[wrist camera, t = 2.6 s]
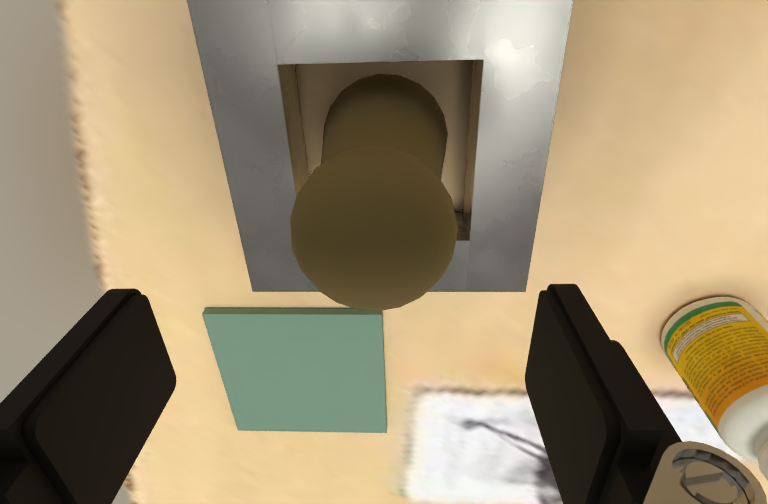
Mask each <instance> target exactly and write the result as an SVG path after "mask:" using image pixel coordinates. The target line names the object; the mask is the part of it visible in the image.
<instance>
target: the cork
mask: <svg viewBox="0 0 768 504" xmlns="http://www.w3.org/2000/svg"><path fill="white" fill-rule="evenodd" d="M446 142H447V129H446V123H445V118H444V114H443V112H442V111H441V109H440V107H439V105H438V103H437V102H436V100H435V98H434V97H433V96H432V95H431V94H430V93H429V92H428V91H426V90H425V89H424V88H423V87H422V86H421V85H420V84H418V83H416V82H414V81H411V80H409V79H407V78H404V77H402V76H398V75H384V74H378V75H374V76H370V77H366V78H363V79H359V80H357V81H356V82H355V83H353V84H352V85H350V86H349V87H347V88H346V89H344V90H343V91H342V92H341V93H340V94H339V96H338V97H337V99H336V100H335V101H334V103H333V104H332V105H331V107H330V109H329V112H328V116H327V119H326V122H325V125H324V135H323V147H322V159H321V165H320V166H318V167H317V168H316V169H315V170H314V172H313V173H312V174H311V175H310V177H309V178H308V179H307V180H306V182H305V183H304V184H303V185H302V187H301V189H300V190H299V192H298V194H297V197H296V200H295V203H294V206H293V210H292V213H291V216H290V227H291V245H292V251H293V253H294V255H295V258H296V260H297V262H298V265H299V267H300V269H301V271H302V272H303V273H304V274H305V275H306V276H307V278H308V279H309V280H310V281H311V282H312V283H313V285H314V286H315V287H316V288H317V289H318V290H319V291H320V292H321V293H323V294H325V295H326V296H328V297H329V298H331V299H332V300H334V301H335V302H337V303H340V304H343V305H346V306H349V307H352V308H355V309H360V310H374V311H381V310H386V309H392V308H398V307H401V306H403V305H405V304H408V303H410V302H412V301H414V300H416V299H418V298H420V297H421V296H423V295H424V294H425V293H426V292H427V291H429V290H430V289H431V288H432V287H433V286H434V285H435V284H436V283H437V282H439V281H440V280H441V278H442V276H443V275H444V273H445V271H446V269H447V268H448V266H449V264H450V262H451V260H452V257H453V254H454V249H455V243H456V237H457V231H458V228H457V223H456V218H455V213H454V208H453V203H452V199H451V196H450V195H449V193H448V192H447V190H446V188H445V187H444V185H443V183H442V182H441V174H442V168H443V162H444V156H445V149H446Z"/></svg>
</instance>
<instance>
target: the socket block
mask: <svg viewBox="0 0 768 504" xmlns="http://www.w3.org/2000/svg"><path fill="white" fill-rule="evenodd" d="M187 3H188V7H189V12H190V16H191V21H192V25H193V29H194V34H195V38H196V43H197V47H198V52H199V56H200V60H201V65H202V69H203V74H204V78H205V83H206V87H207V91H208V96H209V100H210V105H211V109H212V114H213V118H214V122H215V127H216V131H217V136H218V140H219V145H220V149H221V153H222V158H223V162H224V167H225V171H226V176H227V180H228V184H229V189H230V193H231V198H232V202H233V207H234V211H235V215H236V220H237V224H238V229H239V233H240V238H241V242H242V246H243V251H244V255H245V260H246V264H247V268H248V273H249V277H250V282H251V286H252V291H253V292H320V291H319V290H318V289H317V288H316V287H315V286H314V285H313V283H312V282H311V281H310V280H309V279H308V278H307V276H306V275H305V274H304V273H303V272H302V271H301V269H300V267H299V265H298V262H297V260H296V258H295V255H294V253H293V251H292V245H291V227H290V216H291V213H292V210H293V206H294V203H295V200H296V197H297V194H298V192H299V190H300V189H301V187H302V185H303V184H304V183H305V182H306V180H307V179H308V178H309V175H308V167H307V159H306V151H305V143H304V135H303V127H302V119H301V111H300V103H299V95H298V87H297V79H296V71H295V64H319V63H357V62H396V61H435V60H473V69H472V84H471V99H470V114H469V129H468V144H467V159H466V173H465V188H464V203H463V212H454V213H455V218H456V223H457V228H458V231H457V237H456V243H455V249H454V254H453V257H452V260H451V262H450V264H449V266H448V268H447V269H446V271H445V273H444V275H443V276H442V278H441V280H440V281H439V282H437V283H436V284H435V285H434V286H433V287H432V288H431V289H430V290H429V291H427V292H526V285H527V279H528V273H529V267H530V261H531V255H532V249H533V243H534V237H535V231H536V225H537V219H538V212H539V206H540V200H541V194H542V188H543V182H544V176H545V170H546V164H547V158H548V152H549V145H550V139H551V133H552V127H553V121H554V115H555V109H556V103H557V97H558V91H559V85H560V79H561V72H562V66H563V60H564V54H565V48H566V42H567V36H568V30H569V24H570V18H571V12H572V5H573V0H187Z"/></svg>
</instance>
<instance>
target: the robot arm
mask: <svg viewBox="0 0 768 504" xmlns="http://www.w3.org/2000/svg"><path fill="white" fill-rule="evenodd" d="M525 384H526V389H527V393H528V396H529V399H530V402H531V405H532V408H533V411H534V414H535V417H536V421H537V424H538V427H539V430H540V433H541V436H542V439H543V442H544V445H545V449H546V452H547V455H548V458H549V461H550V464H551V467H552V470H553V473H554V476H555V480H556V483H557V486H558V489H559V492H560V495H561V498H562V501H563V504H767V501H766V495H765V493H764V491H763V488H762V486H761V484H760V482H759V481H758V480H757V479H756V478H755V476H754V475H753V474H752V473H751V471H750V470H749V469H748V468H746V467H745V466H744V465H743V464H742V463H740V462H739V461H738V460H737V459H736V458H734V457H732V456H730V455H729V454H727V453H725V452H724V451H722V450H720V449H717V448H715V447H712V446H710V445H707V444H703V443H698V442H692V441H687V442H682V441H681V439H680V437H679V436H678V434H677V433H676V431H675V429H674V428H673V426H672V425H671V423H670V422H669V420H668V418H667V417H666V415H665V414H664V412H663V410H662V409H661V407H660V406H659V404H658V402H657V401H656V399H655V398H654V396H653V394H652V393H651V391H650V390H649V388H648V386H647V385H646V383H645V382H644V380H643V378H642V377H641V375H640V374H639V372H638V370H637V369H636V367H635V366H634V364H633V362H632V361H631V359H630V358H629V356H628V355H627V353H626V351H625V350H624V348H623V347H622V346H621V344H620V343H619V342H617V341H615V340H610V339H609V337H608V335H607V334H606V332H605V330H604V329H603V327H602V325H601V324H600V322H599V321H598V319H597V317H596V316H595V314H594V312H593V311H592V309H591V307H590V306H589V304H588V302H587V301H586V299H585V297H584V296H583V294H582V292H581V291H580V289H579V287H578V286H577V285H576V284H550V285H549V286H548V288H547V290H542V291H541V292H540V294H539V298H538V304H537V309H536V315H535V321H534V327H533V332H532V338H531V344H530V350H529V355H528V361H527V367H526V372H525ZM175 386H176V375H175V372H174V369H173V366H172V364H171V361H170V358H169V355H168V353H167V350H166V347H165V344H164V341H163V339H162V336H161V333H160V330H159V328H158V325H157V322H156V319H155V316H154V314H153V311H152V308H151V305H150V303H149V300H148V298H147V297H146V296H145V295H142V294H141V292H140V291H139V290H137V289H111V290H108V291H107V292H106V293H105V294H104V295H103V296H102V297H101V298H100V299H99V300H98V301H97V303H95V304H94V305H93V307H92V308H91V309H90V310H89V311H88V312H87V313H86V314H85V315H84V316H83V317H82V318H81V319H80V320H79V321H78V322H77V324H75V325H74V327H73V328H72V329H71V330H70V331H69V332H68V333H67V334H66V335H65V336H64V337H63V338H62V339H61V340H60V341H59V342H58V344H56V345H55V346H54V348H53V349H52V350H51V351H50V352H49V353H48V354H47V355H46V356H45V357H44V358H43V359H42V360H41V361H40V362H39V363H38V364H37V366H35V368H34V369H33V370H32V371H31V372H30V373H29V374H28V375H27V376H26V377H25V378H24V379H23V380H22V381H21V382H20V383H19V384H18V385H17V387H15V389H14V390H13V391H12V392H11V393H10V394H9V395H8V396H7V397H6V398H5V399H4V400H3V401H2V402H1V403H0V504H111V503H112V502H113V500H114V498H115V496H116V495H117V493H118V491H119V489H120V487H121V486H122V484H123V482H124V480H125V478H126V477H127V475H128V473H129V471H130V469H131V467H132V466H133V464H134V462H135V460H136V458H137V457H138V455H139V453H140V451H141V449H142V448H143V446H144V444H145V442H146V440H147V438H148V437H149V435H150V433H151V431H152V429H153V428H154V426H155V424H156V422H157V420H158V419H159V417H160V415H161V413H162V411H163V409H164V408H165V406H166V404H167V402H168V400H169V399H170V397H171V395H172V393H173V391H174V389H175Z"/></svg>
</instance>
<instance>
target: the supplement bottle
mask: <svg viewBox="0 0 768 504" xmlns="http://www.w3.org/2000/svg"><path fill="white" fill-rule="evenodd" d="M661 344H662V348H663V350H664V352H665V354H666V356H667V357H668V359H669V360H670V362H671V363H672V365H673V367H674V368H675V370H676V371H677V372H678V374H679V375H680V377H681V378H682V380H683V381H684V383H685V384H686V386H687V388H688V389H689V391H690V392H691V393H692V395H693V396H694V398H695V399H696V401H697V402H698V404H699V405H700V407H701V408H702V410H703V411H704V413H705V414H706V416H707V417H708V419H709V420H710V422H711V424H712V425H713V427H714V428H715V430H716V431H717V432H718V434H719V436H720V437H721V439H722V440H723V441H724V443H725V444H726V445H727V446H728V447H729V448H730V449H731V450H732V451H734V452H735V453H736V454H738V455H740V456H741V457H743V458H746V459H748V460H751V461H754V462H758V463H759V468H760V471H761V472H762V474H763V475H764V476H765V477H766V479H767V480H768V321H767V320H766V319H765V318H764V317H763V316H762V315H761V314H760V313H759V312H758V311H757V310H756V309H755V308H753V307H752V306H751V305H750V304H748V303H746V302H744V301H742V300H740V299H736V298H731V297H714V298H709V299H704V300H700V301H697V302H694V303H691V304H689V305H687V306H685V307H683V308H682V309H680V310H679V311H678V312H676V313H675V314H674V315H673V316H672V317H671V318H670V320H669V321H668V322H667V324H666V325H665V327H664V329H663V332H662V336H661Z"/></svg>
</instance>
